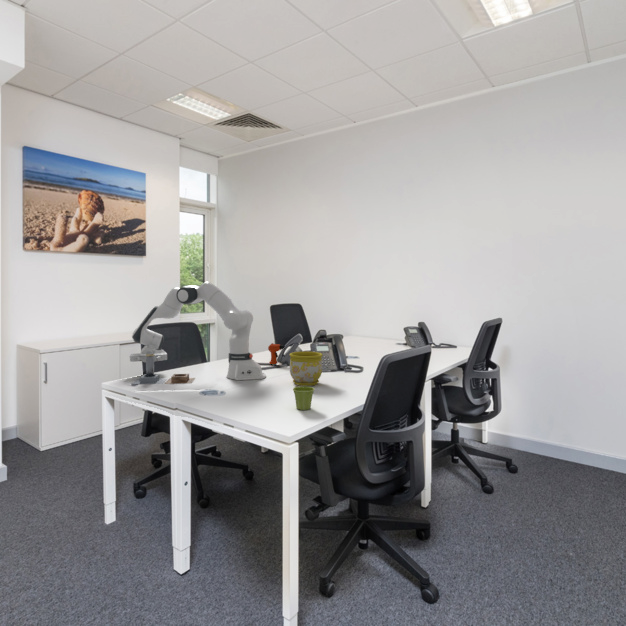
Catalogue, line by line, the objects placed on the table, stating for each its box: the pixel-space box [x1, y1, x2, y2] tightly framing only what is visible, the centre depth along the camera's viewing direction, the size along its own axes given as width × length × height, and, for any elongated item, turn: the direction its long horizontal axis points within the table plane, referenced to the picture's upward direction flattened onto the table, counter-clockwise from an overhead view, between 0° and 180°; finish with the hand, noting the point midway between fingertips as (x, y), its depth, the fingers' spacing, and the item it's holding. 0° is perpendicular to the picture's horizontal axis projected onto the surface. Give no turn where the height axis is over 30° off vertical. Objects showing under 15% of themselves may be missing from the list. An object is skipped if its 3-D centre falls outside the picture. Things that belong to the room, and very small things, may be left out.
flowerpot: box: [289, 351, 323, 387], centre depth 235 cm, size 18×18×16 cm
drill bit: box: [145, 353, 155, 377], centre depth 233 cm, size 4×4×15 cm
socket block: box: [164, 373, 196, 385], centre depth 235 cm, size 14×14×4 cm
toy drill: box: [267, 343, 286, 364], centre depth 288 cm, size 5×19×15 cm, turn 57°
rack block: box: [130, 373, 168, 386], centre depth 233 cm, size 16×12×4 cm
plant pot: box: [292, 386, 315, 411], centre depth 187 cm, size 9×9×9 cm
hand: (149, 359), depth 244 cm, fingers open, 8 cm apart
